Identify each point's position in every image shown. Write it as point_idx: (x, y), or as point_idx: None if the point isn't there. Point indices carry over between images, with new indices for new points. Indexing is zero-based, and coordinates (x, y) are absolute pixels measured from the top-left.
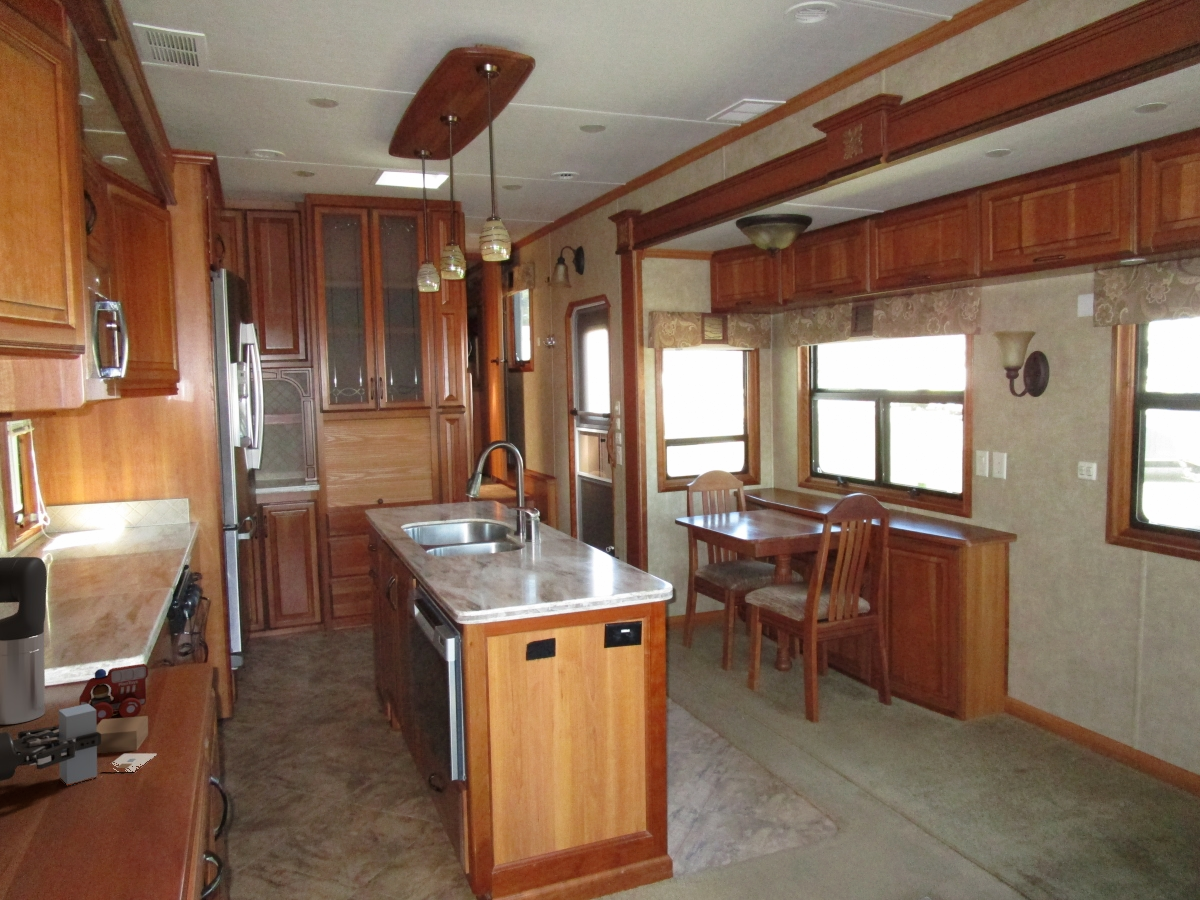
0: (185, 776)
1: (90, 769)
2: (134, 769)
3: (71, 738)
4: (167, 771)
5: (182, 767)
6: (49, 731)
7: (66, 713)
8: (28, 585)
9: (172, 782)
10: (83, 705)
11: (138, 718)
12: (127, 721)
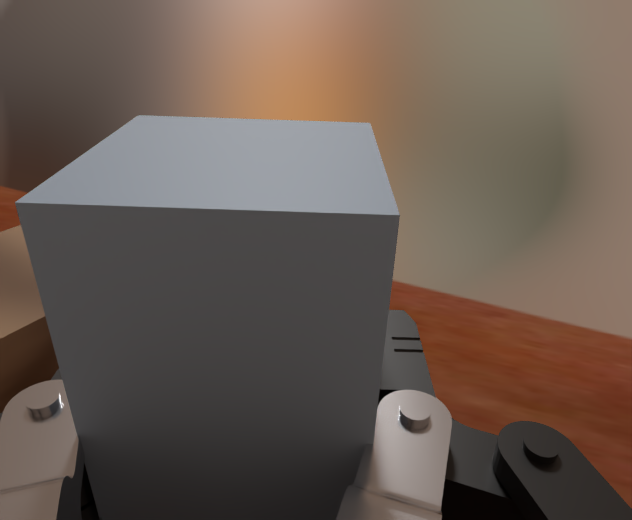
0: (534, 321)
1: None
2: None
3: (429, 414)
4: (453, 336)
5: (445, 307)
6: (45, 500)
7: (258, 196)
8: None
9: (574, 353)
10: (149, 127)
11: (22, 234)
12: (4, 255)
